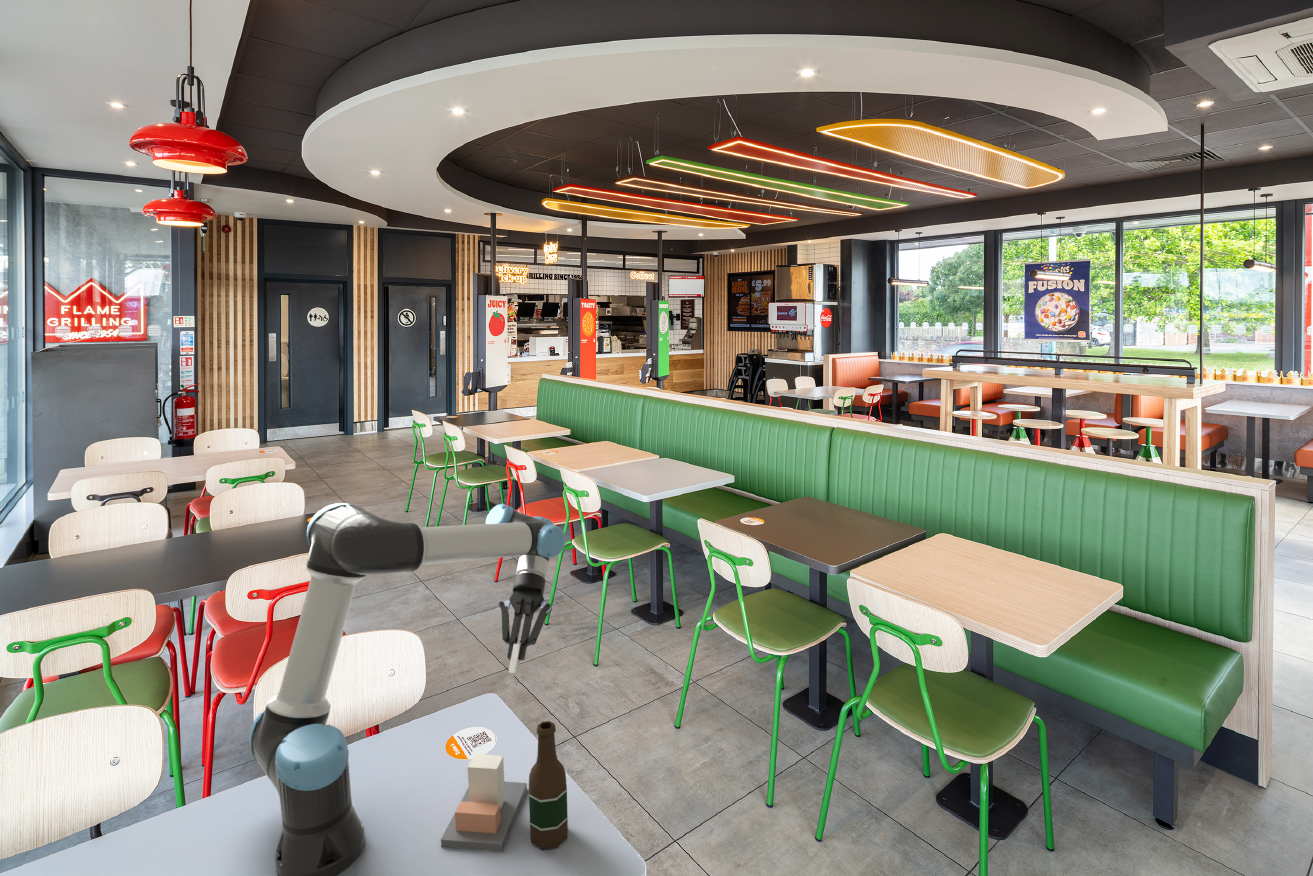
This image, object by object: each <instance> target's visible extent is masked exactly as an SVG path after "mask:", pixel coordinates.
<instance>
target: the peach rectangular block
mask: <svg viewBox="0 0 1313 876" xmlns="http://www.w3.org/2000/svg"><path fill="white" fill-rule="evenodd" d="M454 814H455V822H456V831H470V832H483V833H496V832H497V830H498V827H499V825H500V823H501V815H500V804H491V803H477V802H462V800H461V801H460V802H459V804H458V806H457V807H456V810H455V812H454Z"/></svg>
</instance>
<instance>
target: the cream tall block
mask: <svg viewBox="0 0 1313 876" xmlns="http://www.w3.org/2000/svg"><path fill="white" fill-rule="evenodd" d="M504 762H505V761H504V755H493V754H492V755H491V754H477V753H475V754H474V755H473V756H472V759H471V760H470V762H469V764H468V766H467V780H468V781H467V782H468V787H469V802H477V803H491V804H500V810H501V807H502V805H503V803H504V801H505V786H504V781H505V769H504V768H505V765H504V764H505V763H504Z"/></svg>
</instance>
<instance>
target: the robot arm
mask: <svg viewBox="0 0 1313 876" xmlns="http://www.w3.org/2000/svg"><path fill="white" fill-rule="evenodd" d="M306 539H307V542H308V543H307V544H308V546H309V547H310V548H309V553H308V556H307V560H306V563H305V570H306V571H307V572H308V573H309V575H310V579H309V584H308V587H307V591H306V595H305V598H304V603H303V604H302V605H303V606H302V610H301V612H300V616H299V620H298V623H297V627H296V630H295V634H294V637H293V641H292V644H291V647H290V652H289V656H288V658H287V662H286V666H285V670H284V674H283V677H282V680H281V684H280V688H279V691H278V693H277V694H275V695H273V696H271V697H270V698H269V699H268V701H267V702H266V706H265V709H264V710H263V711H262V712H261V713H259V714H258V715H257V717H256V718H255V719H254V721H253V723H252V725H251V728H250V730H249V737H248V741H249V746H250V747H249V748H250V751H251V754H252V757H253V758H254V760H255V761H256V762H257V764H259V766H260V768H261V769H262V770H263V772H264V773H265V775H266V777H268V779H269V780H270V781H271V784H272V785H273V786H274V788H275V790H277V793H278V797H279V803H280V813H281V821H282V828H281V833H280V834H279V835H280V836H279V840H278V844H277V847H276V850H275V853H274V854H275V855H274V860H275V861H274V862H275V870H276V874H277V875H278V876H336V875H338V874H341V873H342V872H343V871H345V870H346V869H347V868H348V867H350V866H351V865H352V864H353V863H354V862H355V861H356V860H357V859H358V857H359V856H360V855H361V853H362V851H363V849H364V846H365V841H366V836H365V827H364V824H363V822H362V820H361V819H360V818H359V816H358V813H357V811H356V810H355V807H354V806H353V801H352V792H351V790H352V788H351V778H350V769H349V768H350V765H349V747H348V744H347V741H346V737H345V735H344V734H343V732H342V731H341V729H339V728H338V727H336V726H334V725H331V724H327V722H328V720H329V719H328V718H329V715H330V712H331V707H332V705H331V703H330V702H329V700H328V699H327V698H326V697H327V696H326V695H327V692H328V688H329V685H330V681H331V677H332V674H333V670H334V666H335V662H336V659H337V656H338V652H339V649H340V645H341V641H342V638H343V634H344V631H345V626H346V622H347V620H348V617H349V612H350V609H351V604H352V602H353V598H354V594H355V590H356V587H357V584H358V582H360V581H362V580H363V579H365V578H367V576H377V575H378V576H379V575H387V574H388V575H390V574H391V575H392V574H400V573H408V572H416V571H418V570H419V569H420V568H421V567H422V566H426V565H436V564H447V563H455V562H458V563H459V562H466V561H476V560H477V561H479V560H487V559H498V558H507V557H508V558H509V557H518V562H517V566H516V571H515V572H516V573H515V574H516V575H515V577H514V581H513V586H512V592H511V594H510V595H509V598H508V599H506V600H504V601H502V600H501V601H499V602H498V606H499V608H500V611H501V631H502V633H501V635H502V640H503V642H504V643H505V644H507V645H509V646H508V651H507V654H506V655H507V659H508V661H509V660H510V661H509V662H510V663H509V667H508V671H507V672H508V674H509V675H510V676H512V677H518V674H519V669H520V664H521V662H522V661H525V658H526V655H527V648H528V647H529V646H534V645H536V643H537V640H538V639H539V638H538V637H539V636H540V634H541V630H542V629H543V626H544V623H545V621H546V618H547V617H548V615H549V614H550V613H551V612H552V610H553V608H552V606H551V604H550V603H548V602H546V601H545V598H544V593H545V587H546V578H547V575H548V570H549V569H548V568H549V562H550V559H551V558H552V559H553V558H555V557H557V556H559V555H560V554H561V553H562V552H563V550H564V548H565V545H566V539H567V538H566V534H565V532H564V530H563V529H562V527H560V526H557V525H556V524H555V523H553V521H552V520H550V519H549V518H544V517H543V516H531V515H528V514H525V513H522V512H519V511H518V510H515V509H514V507H512V506H508V505H507V504H505V503H499V504H497V505H494V507H492V508H491V509H490V510H489V512H488V514H487V516H486V519H485V523H480V524H479V523H477V524H462V525H460V524H459V525H441V526H438V525H437V526H423V527H422V526H420V525H419V523H417V522H399V521H392V520H389V519H385V518H382V517H381V516H378V515H376V514H373V513H371V512H369V511H368V510H366V509H364V508H363V507H361V506H359V505H354V504H352V503H351V504H350V503H347V502H338V503H337V502H336V503H332V504H329V505H326V506H324V507H323V508H322V509H319V510H318V511H317V512H316V513H315V514H314V515H313V517H311V519H310V520H309V523H308V524H307V529H306ZM511 606H512V609H513V611H514V612H513V613H514V615H513V616H514V617H513V622H512V625H511V628H510V614H509V611H510V609H511ZM539 609H540V611H539V613H538V615H537V618H536V620H535V622H534V624H533V626H532V622H533V619H534V614H535V613H536V612H537V611H538V610H539ZM523 618H524V619H523ZM522 620H523V625H522ZM521 625H522V632H521V635H520V636H521V637H520V640H519V634H520V631H521ZM532 627H533V628H532ZM531 628H532V629H531ZM510 629H511V632H510ZM518 641H519V643H518Z"/></svg>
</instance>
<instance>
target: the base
mask: <svg viewBox="0 0 1313 876" xmlns="http://www.w3.org/2000/svg"><path fill="white" fill-rule="evenodd" d="M504 786H505V801H504V803H503V805H502V807H501V810H500V815H501V823H500V825H499V827H498V830H497V832H496V833H483V832H470V831H456V822H455V813H453V816H452V818H451V820H450V822H449V824H448V825H447V827H446V829H445V831H444V833H443V835H442V837H441V838H440V845H441V846H440V847H445V848H456V849H457V848H458V849H471V850H486V851H497V852H502V851H504V848H505V845H506V842H507V840H508V837H509V835H510V833H511V830H512V827H513V825H514V822H515V821H516V817H517V815H518V812H519V810H520V808H521V806H522V803H523V800H524V799H525V796H526V793H527V790H528V782H517V781H516V782H515V781H506V780H504ZM461 801H462V802H469V786H468V788H467V789H466V791H465V794H464V796H463V797H462V799H461Z"/></svg>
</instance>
